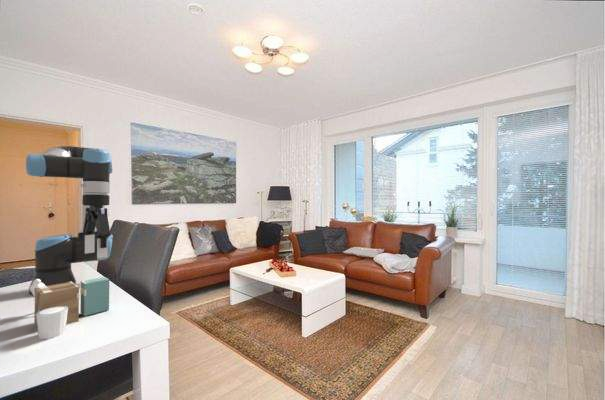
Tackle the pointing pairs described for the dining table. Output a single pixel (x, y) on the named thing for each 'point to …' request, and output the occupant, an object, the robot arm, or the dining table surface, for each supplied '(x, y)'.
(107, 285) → the block
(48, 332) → the shot glass
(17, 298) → the dining table surface
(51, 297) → the cardboard box
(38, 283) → the figurine
